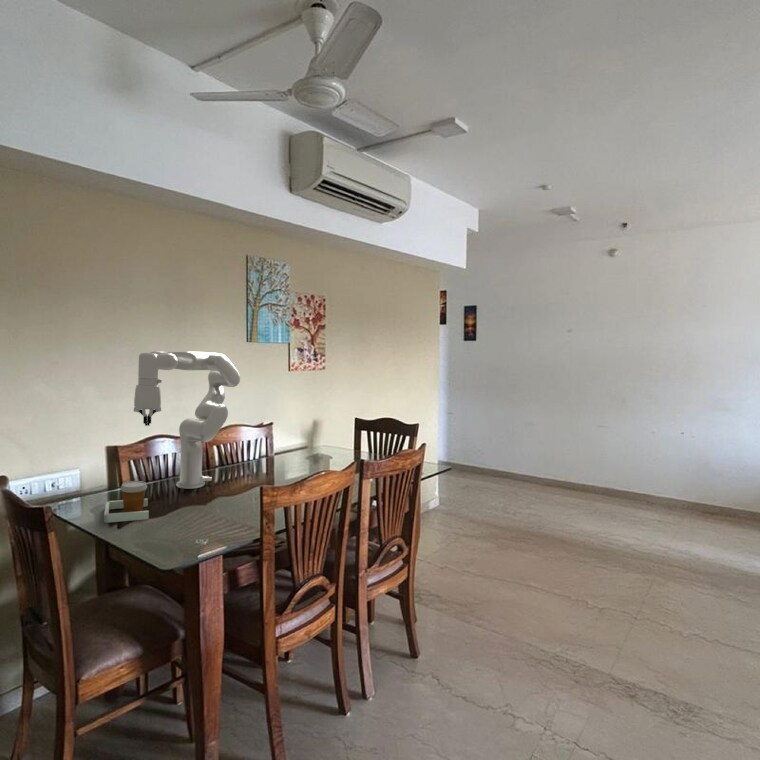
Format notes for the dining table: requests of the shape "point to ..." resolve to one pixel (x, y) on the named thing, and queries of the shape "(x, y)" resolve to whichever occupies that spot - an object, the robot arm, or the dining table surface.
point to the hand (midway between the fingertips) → (147, 425)
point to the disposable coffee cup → (133, 495)
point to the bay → (125, 515)
